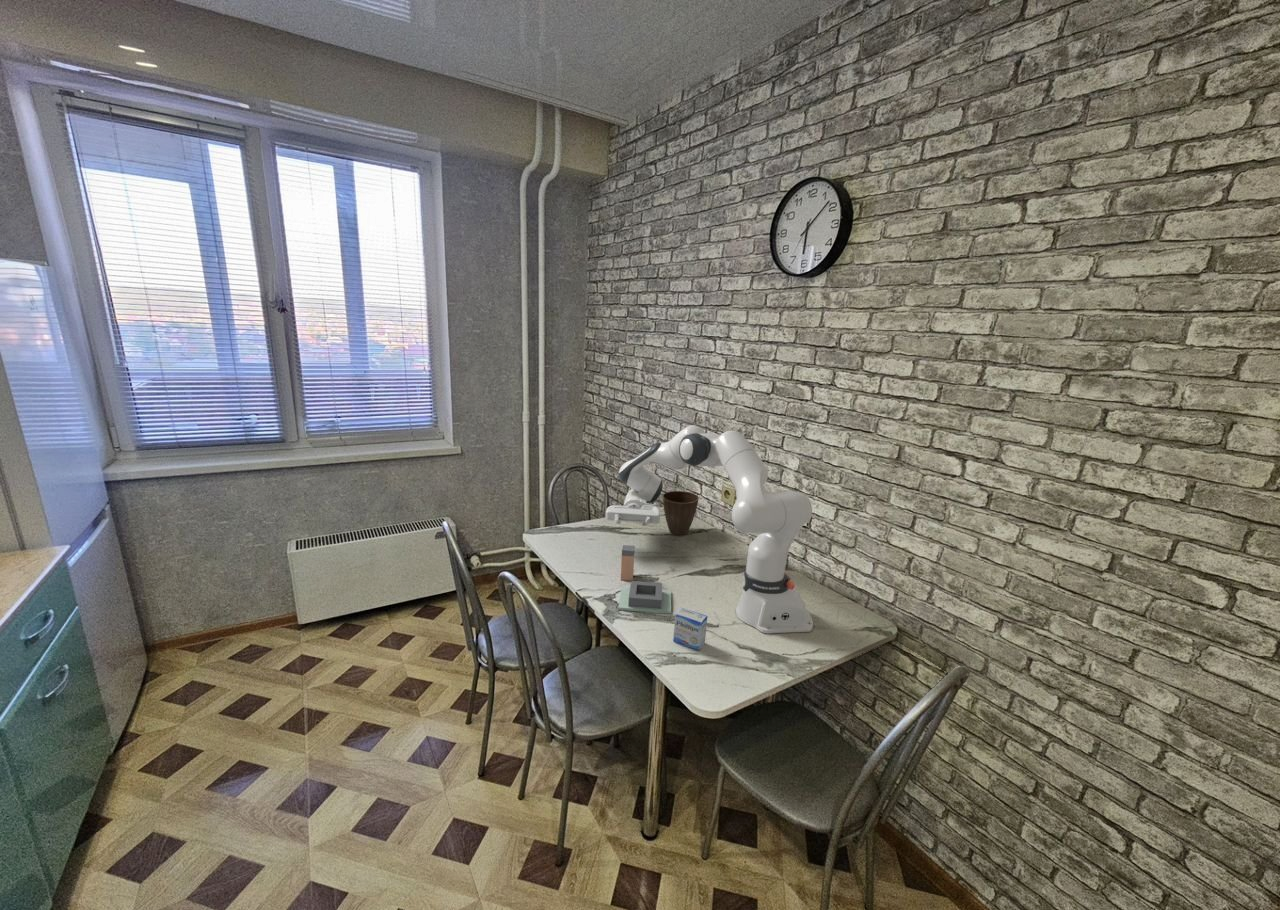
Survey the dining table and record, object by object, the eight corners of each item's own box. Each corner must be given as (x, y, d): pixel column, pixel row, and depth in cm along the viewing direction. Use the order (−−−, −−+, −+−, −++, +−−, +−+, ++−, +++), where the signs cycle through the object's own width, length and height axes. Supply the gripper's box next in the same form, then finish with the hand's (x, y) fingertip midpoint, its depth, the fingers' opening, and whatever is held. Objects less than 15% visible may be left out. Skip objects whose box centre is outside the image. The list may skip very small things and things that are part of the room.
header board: (670, 592, 159) (671, 582, 158) (670, 613, 147) (671, 602, 146) (621, 589, 159) (622, 578, 158) (618, 609, 148) (618, 598, 147)
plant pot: (656, 536, 201) (658, 499, 197) (665, 523, 215) (667, 488, 211) (692, 542, 197) (695, 505, 193) (698, 528, 211) (701, 493, 207)
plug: (633, 574, 169) (634, 545, 166) (632, 580, 165) (633, 551, 162) (621, 574, 169) (623, 545, 166) (620, 579, 165) (621, 550, 162)
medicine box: (672, 641, 134) (674, 614, 132) (679, 633, 138) (681, 606, 136) (699, 651, 131) (702, 623, 128) (705, 642, 135) (707, 614, 132)
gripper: (607, 499, 188) (602, 512, 175) (660, 503, 187) (660, 516, 174) (607, 514, 190) (602, 528, 176) (659, 518, 189) (658, 533, 176)
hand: (631, 523), depth 175 cm, fingers open, 8 cm apart
